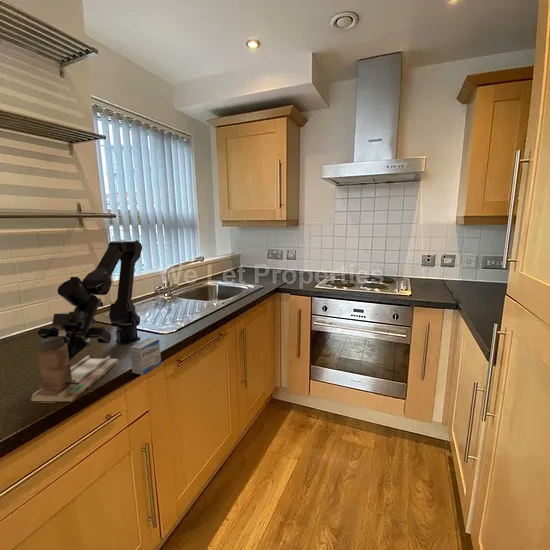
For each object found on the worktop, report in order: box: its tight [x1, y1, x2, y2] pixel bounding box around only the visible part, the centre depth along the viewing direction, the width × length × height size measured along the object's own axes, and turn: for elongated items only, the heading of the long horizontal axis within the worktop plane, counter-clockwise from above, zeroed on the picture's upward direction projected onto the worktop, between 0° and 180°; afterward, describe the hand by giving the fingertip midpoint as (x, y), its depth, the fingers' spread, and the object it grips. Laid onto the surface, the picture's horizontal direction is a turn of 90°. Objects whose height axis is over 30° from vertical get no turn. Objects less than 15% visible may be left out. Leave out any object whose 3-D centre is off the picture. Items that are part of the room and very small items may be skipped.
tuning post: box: [36, 337, 79, 395], centre depth 80 cm, size 6×8×14 cm
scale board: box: [31, 355, 119, 402], centre depth 88 cm, size 22×10×2 cm, turn 178°
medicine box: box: [129, 337, 162, 376], centre depth 94 cm, size 8×4×9 cm, turn 158°
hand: (62, 364), depth 83 cm, fingers closed
